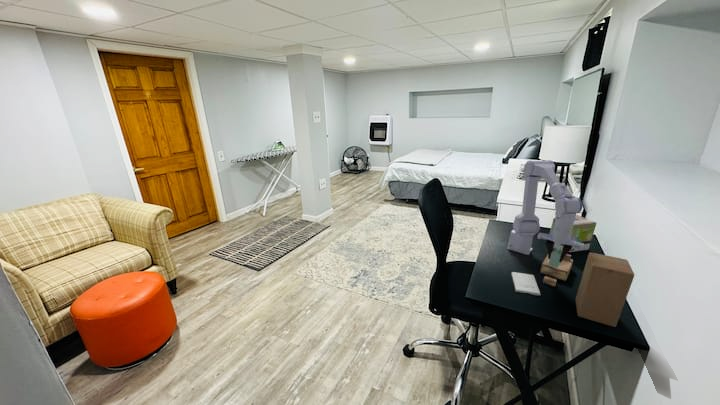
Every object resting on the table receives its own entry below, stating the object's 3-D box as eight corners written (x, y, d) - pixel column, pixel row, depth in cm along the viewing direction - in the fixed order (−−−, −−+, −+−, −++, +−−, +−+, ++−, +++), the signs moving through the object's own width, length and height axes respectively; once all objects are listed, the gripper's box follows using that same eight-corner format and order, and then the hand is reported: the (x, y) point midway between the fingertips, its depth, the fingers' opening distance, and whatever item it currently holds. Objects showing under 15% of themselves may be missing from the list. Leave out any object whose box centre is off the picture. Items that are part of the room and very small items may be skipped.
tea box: (564, 254, 133) (571, 225, 128) (546, 244, 143) (552, 217, 138) (589, 250, 137) (597, 221, 132) (570, 240, 146) (577, 214, 141)
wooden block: (616, 328, 90) (635, 274, 84) (577, 316, 95) (592, 265, 89) (610, 309, 98) (627, 259, 92) (575, 299, 103) (589, 251, 97)
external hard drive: (533, 278, 117) (539, 297, 106) (511, 274, 120) (515, 292, 109) (533, 275, 116) (540, 293, 105) (511, 271, 119) (516, 289, 108)
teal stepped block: (548, 265, 112) (551, 250, 110) (550, 261, 115) (554, 246, 112) (557, 268, 110) (561, 252, 108) (559, 263, 113) (563, 248, 110)
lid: (541, 265, 119) (543, 259, 118) (548, 254, 127) (549, 248, 126) (567, 273, 113) (569, 267, 112) (572, 261, 121) (574, 255, 120)
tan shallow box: (535, 279, 115) (537, 272, 114) (546, 261, 128) (548, 254, 127) (562, 289, 109) (564, 281, 108) (570, 268, 122) (572, 261, 121)
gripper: (538, 226, 109) (531, 257, 114) (585, 237, 100) (575, 270, 104) (542, 220, 114) (536, 250, 119) (587, 231, 105) (578, 262, 109)
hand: (555, 259), depth 112 cm, fingers closed on teal stepped block, 3 cm apart
